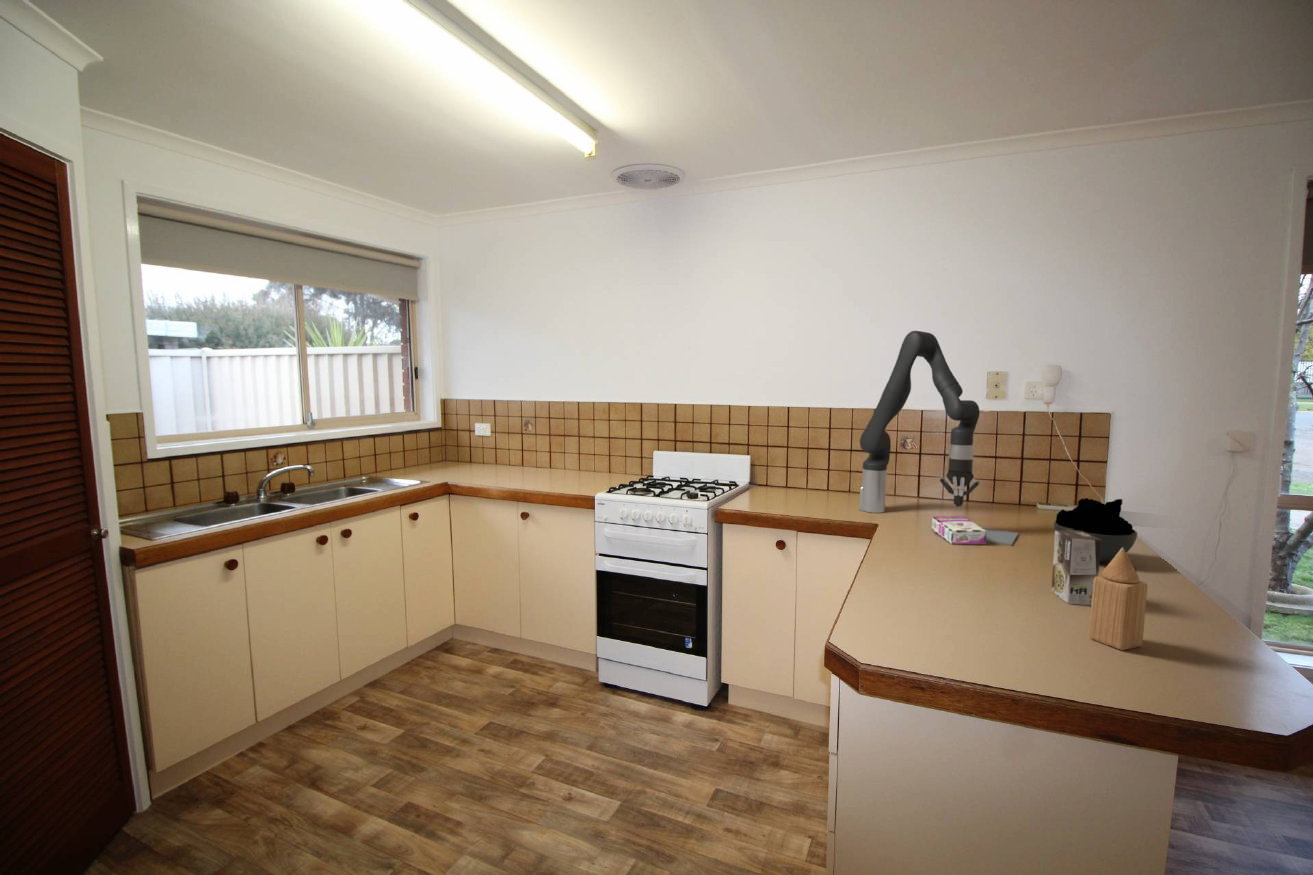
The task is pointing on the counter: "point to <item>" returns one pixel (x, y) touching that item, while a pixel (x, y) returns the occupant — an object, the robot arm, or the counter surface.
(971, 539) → the candy bar box
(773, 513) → the counter surface
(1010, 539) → the mat
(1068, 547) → the coffee box
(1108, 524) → the bowl of black rocks
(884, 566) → the counter surface
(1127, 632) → the decorative item
